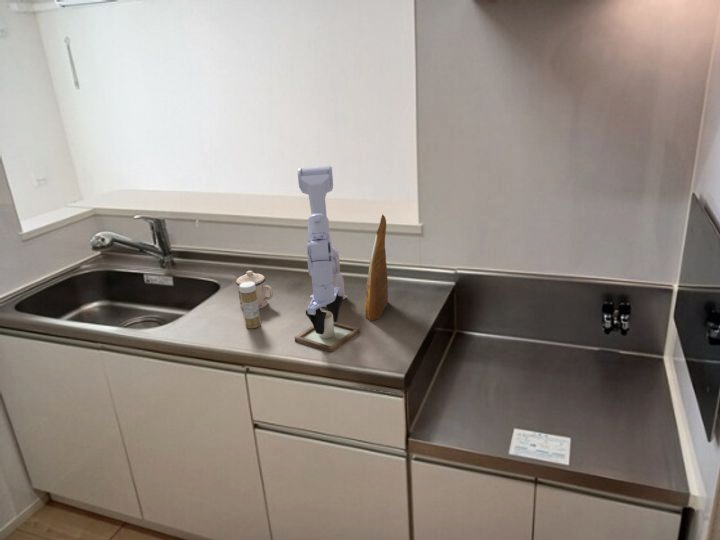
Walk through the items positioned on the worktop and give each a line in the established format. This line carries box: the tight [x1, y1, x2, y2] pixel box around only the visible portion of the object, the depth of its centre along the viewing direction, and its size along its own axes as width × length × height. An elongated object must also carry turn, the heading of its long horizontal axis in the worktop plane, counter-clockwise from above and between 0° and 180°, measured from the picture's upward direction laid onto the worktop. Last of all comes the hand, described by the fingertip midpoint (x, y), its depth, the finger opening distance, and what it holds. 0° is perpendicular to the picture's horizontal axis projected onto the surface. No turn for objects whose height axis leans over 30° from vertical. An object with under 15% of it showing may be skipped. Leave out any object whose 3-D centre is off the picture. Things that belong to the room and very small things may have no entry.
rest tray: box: [294, 321, 361, 353], centre depth 159 cm, size 13×13×1 cm
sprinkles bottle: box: [239, 282, 262, 329], centre depth 166 cm, size 5×5×14 cm
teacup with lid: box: [236, 270, 274, 310], centre depth 180 cm, size 12×9×12 cm
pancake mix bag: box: [364, 213, 389, 322], centre depth 169 cm, size 7×19×28 cm, turn 165°
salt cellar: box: [319, 310, 335, 339], centre depth 158 cm, size 4×4×7 cm
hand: (326, 327), depth 158 cm, fingers open, 7 cm apart
